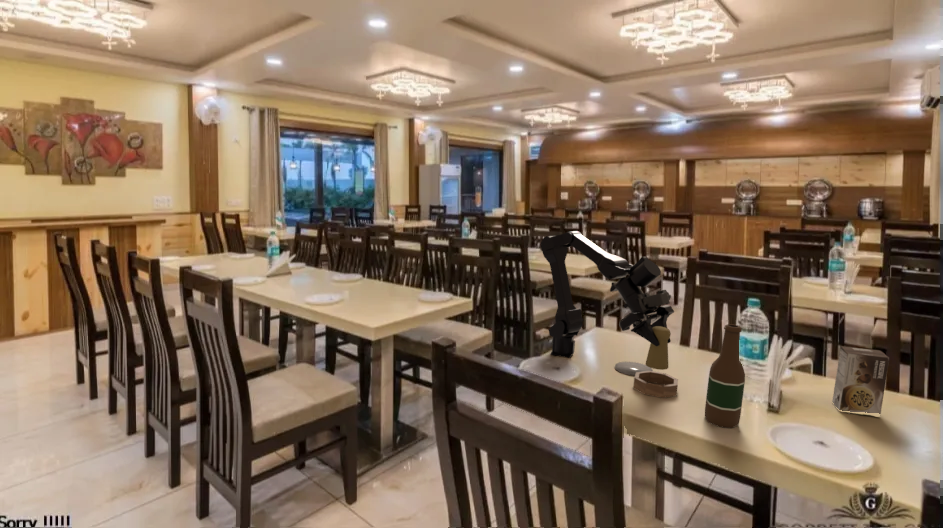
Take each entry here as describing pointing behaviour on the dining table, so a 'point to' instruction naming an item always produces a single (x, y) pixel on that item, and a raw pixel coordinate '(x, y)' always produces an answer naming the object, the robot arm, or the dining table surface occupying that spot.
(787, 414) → the dining table surface
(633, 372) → the slate coaster
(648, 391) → the guard ring
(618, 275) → the robot arm
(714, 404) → the beer bottle
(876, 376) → the coffee box
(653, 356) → the cork
